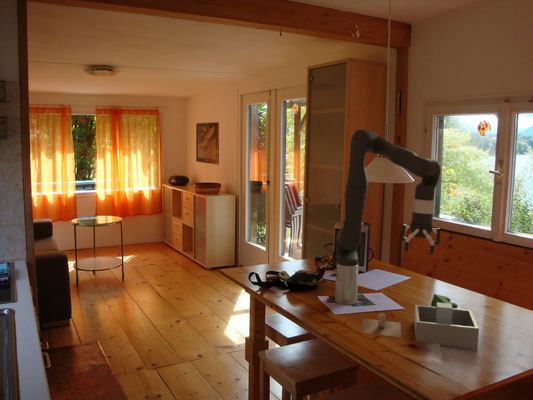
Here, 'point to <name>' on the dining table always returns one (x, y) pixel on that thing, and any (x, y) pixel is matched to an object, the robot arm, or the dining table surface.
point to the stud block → (381, 327)
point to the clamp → (442, 301)
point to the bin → (446, 328)
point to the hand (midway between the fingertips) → (418, 252)
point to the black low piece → (286, 275)
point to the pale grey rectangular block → (444, 313)
